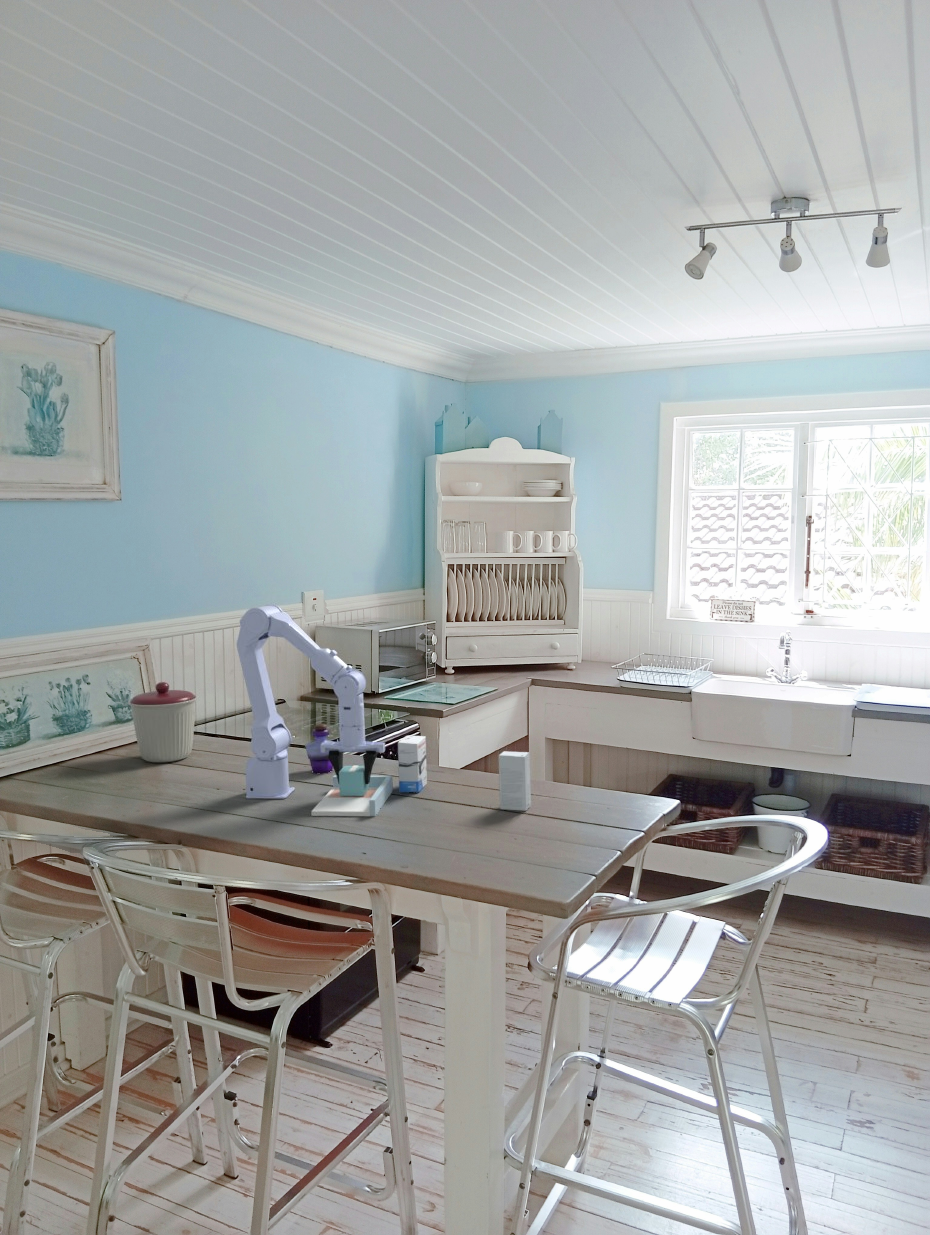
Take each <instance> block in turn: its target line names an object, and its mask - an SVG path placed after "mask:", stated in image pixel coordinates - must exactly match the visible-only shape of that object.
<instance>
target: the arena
mask: <svg viewBox="0 0 930 1235" xmlns="http://www.w3.org/2000/svg"><path fill="white" fill-rule="evenodd" d="M393 782H394V779H393V775H371V776H370V782H369V790H368V791H367V792H366V794H365V795H364V796H340V787H339V784H338V779H337V776H336V774H335V775H334V774H333V776H332V788H331V789H330V790H329V791H328V792H327V793H326V795H324V797H322V799H321V800H320V801H319V802H318V803H317V804H316V806H314V807H313V809H312V810H310V811H311V817H313V816H314V817H315V816H316V817H319V816H320V817H376V816H377V815H376V814H379V812H380V811H381V809H382V808H383V806H384V804H385V803H386V801H387V800H388V799H389V797H390V796H391V794H392V793H393V791H394V783H393ZM380 808H381V809H380Z"/></svg>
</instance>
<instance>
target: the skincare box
mask: <svg viewBox="0 0 930 1235" xmlns="http://www.w3.org/2000/svg"><path fill="white" fill-rule="evenodd" d="M497 757H498V758H497V760H498V761H497V762H498V781H499V782H498V783H499V784H498V785H499V787H498V788H499V809H500V810H507V811H509V810H510V811H521V812H523V811H524V812H525V811H528V809H529V808H530V807H531V806H532V798H531V797H532V795H531V792H532V791H531V790H532V788H531V769H530V768H531V766H530V765H531V764H530V752H529V751H528V752H527V751H507V750H506V751H505V750H504V751H502V752H501V753H500V754H498V756H497Z"/></svg>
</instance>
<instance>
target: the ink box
mask: <svg viewBox="0 0 930 1235" xmlns="http://www.w3.org/2000/svg"><path fill="white" fill-rule="evenodd" d="M426 738H427V737H426V735H425V736H424V735H409V734H408V735H405V736H404V737H403V738H402V739H400V740H399V741H398V742H397V753H398V754H397V755H398V756H397V757H398V758H397V760H398V781H399V782H398V785H399V786H398V792H399V793H409V792H414V794H415V792H416V794H417V793H418V792H419V791H420V792H421V791H422V790H423V788H425V786H427V784H428V779H427V778H428V771H427V742H426V741H427V739H426ZM420 792H419V793H420Z"/></svg>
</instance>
